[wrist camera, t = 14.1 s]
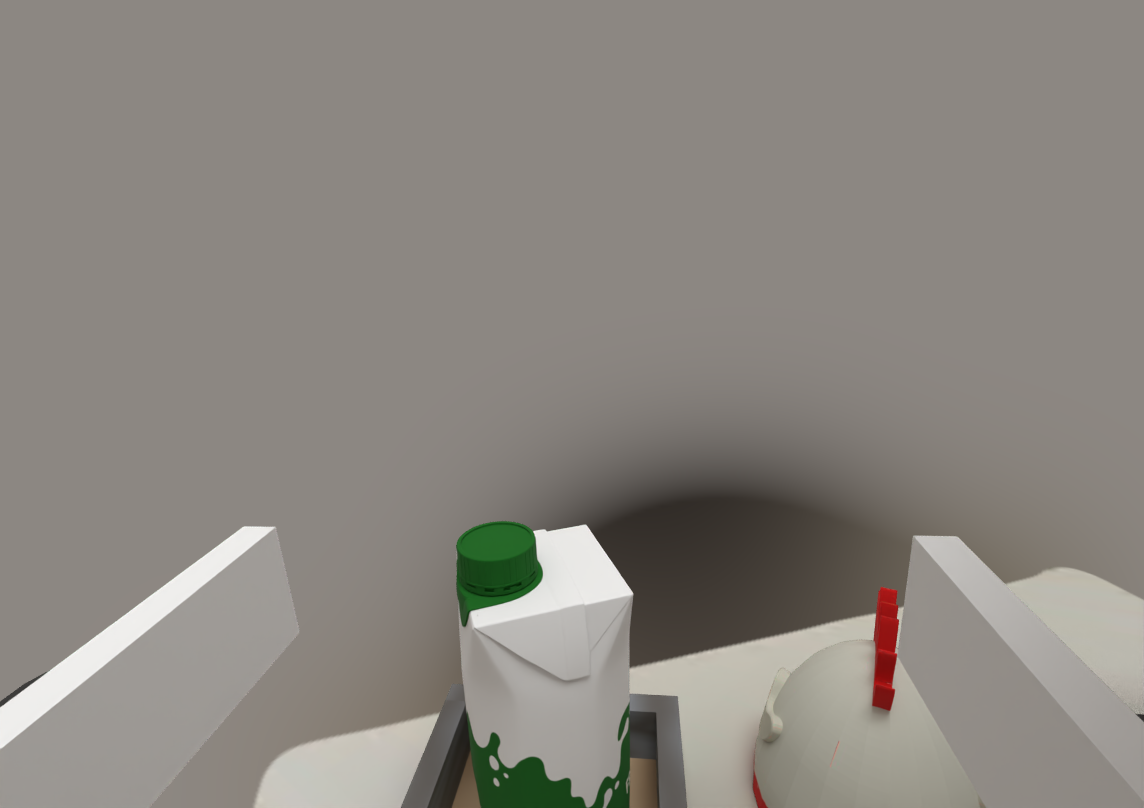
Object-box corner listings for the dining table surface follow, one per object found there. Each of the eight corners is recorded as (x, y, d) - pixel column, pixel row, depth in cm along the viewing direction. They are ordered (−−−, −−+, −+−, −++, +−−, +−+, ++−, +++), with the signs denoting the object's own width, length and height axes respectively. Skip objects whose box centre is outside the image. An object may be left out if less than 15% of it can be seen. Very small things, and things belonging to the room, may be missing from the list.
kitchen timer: (975, 762, 40) (1013, 576, 36) (1014, 981, 29) (1076, 743, 24) (770, 697, 47) (782, 532, 42) (732, 855, 35) (744, 649, 31)
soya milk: (472, 783, 38) (441, 509, 32) (600, 746, 40) (593, 485, 35) (493, 930, 30) (457, 598, 24) (652, 872, 32) (653, 558, 27)
